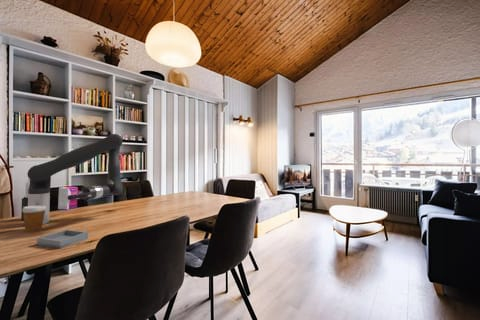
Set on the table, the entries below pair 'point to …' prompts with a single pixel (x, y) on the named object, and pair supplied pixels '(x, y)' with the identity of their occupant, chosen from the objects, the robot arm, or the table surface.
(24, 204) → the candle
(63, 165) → the robot arm
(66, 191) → the supplement box
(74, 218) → the table surface
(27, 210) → the disposable coffee cup
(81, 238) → the tray
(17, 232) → the table surface
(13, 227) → the table surface
